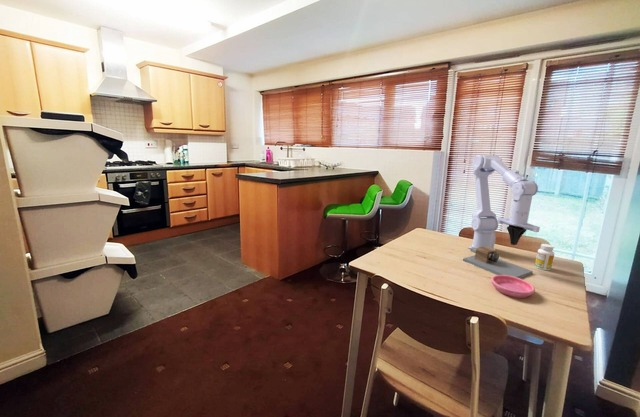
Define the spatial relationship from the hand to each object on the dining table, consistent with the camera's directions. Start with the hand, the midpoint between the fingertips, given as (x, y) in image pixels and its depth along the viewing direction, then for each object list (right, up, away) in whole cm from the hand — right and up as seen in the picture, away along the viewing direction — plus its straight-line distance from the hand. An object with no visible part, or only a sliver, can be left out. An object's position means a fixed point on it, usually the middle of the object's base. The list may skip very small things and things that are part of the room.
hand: (513, 244), depth 116 cm
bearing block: (-9, -8, +5) cm, 13 cm away
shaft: (-9, -6, +6) cm, 12 cm away
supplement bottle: (+13, -10, +1) cm, 16 cm away
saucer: (-13, -14, -18) cm, 26 cm away
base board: (-7, -9, +1) cm, 11 cm away
